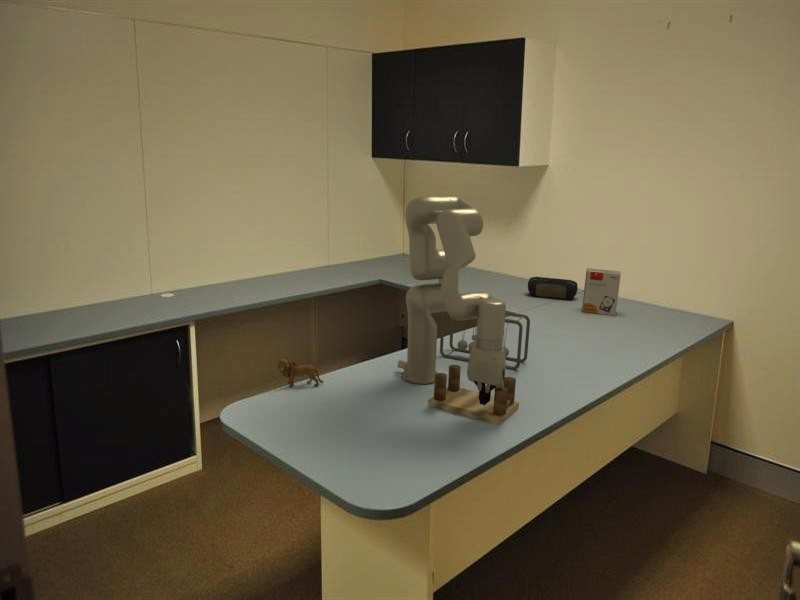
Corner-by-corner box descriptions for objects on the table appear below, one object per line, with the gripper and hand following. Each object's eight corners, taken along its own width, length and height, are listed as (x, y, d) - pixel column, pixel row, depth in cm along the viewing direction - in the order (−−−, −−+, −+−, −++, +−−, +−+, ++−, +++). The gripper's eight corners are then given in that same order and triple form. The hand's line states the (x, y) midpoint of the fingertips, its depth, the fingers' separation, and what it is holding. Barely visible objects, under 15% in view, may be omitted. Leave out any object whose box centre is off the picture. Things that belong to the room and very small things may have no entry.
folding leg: (503, 398, 194) (505, 376, 192) (515, 400, 192) (517, 378, 190) (491, 413, 182) (493, 390, 181) (504, 415, 181) (505, 392, 179)
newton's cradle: (439, 356, 237) (441, 309, 233) (449, 349, 246) (452, 303, 242) (518, 371, 224) (522, 322, 220) (527, 362, 233) (530, 315, 229)
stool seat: (428, 405, 193) (429, 375, 190) (449, 391, 204) (451, 362, 202) (499, 424, 181) (502, 393, 179) (518, 408, 193) (520, 378, 190)
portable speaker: (525, 296, 333) (526, 277, 330) (528, 292, 342) (529, 274, 339) (575, 302, 324) (577, 282, 322) (577, 297, 334) (579, 278, 331)
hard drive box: (581, 312, 305) (585, 270, 300) (582, 308, 312) (586, 267, 307) (616, 315, 300) (620, 273, 296) (615, 311, 307) (620, 270, 303)
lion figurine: (277, 389, 202) (277, 362, 200) (276, 383, 207) (276, 356, 205) (324, 386, 205) (324, 359, 203) (322, 380, 210) (322, 354, 208)
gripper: (459, 340, 181) (454, 400, 186) (508, 352, 174) (502, 414, 179) (471, 334, 188) (466, 392, 193) (519, 345, 180) (513, 405, 185)
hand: (484, 403), depth 186 cm, fingers closed
